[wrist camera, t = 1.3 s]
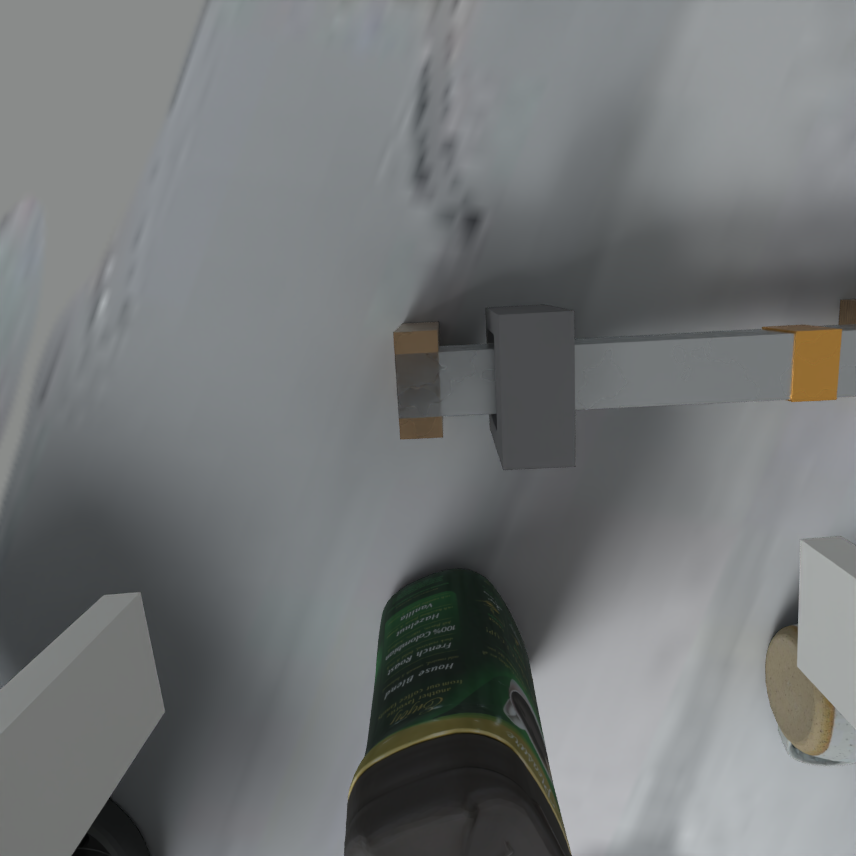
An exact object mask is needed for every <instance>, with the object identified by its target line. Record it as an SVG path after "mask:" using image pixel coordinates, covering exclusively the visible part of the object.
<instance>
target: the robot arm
mask: <svg viewBox="0 0 856 856" xmlns="http://www.w3.org/2000/svg"><path fill="white" fill-rule="evenodd" d="M797 667H798V668H799V669H800V670H801V671H802V672H803V673H804V674H805V676H806V677H807V678H808V679H809V680H810V681H811V682H812V683H813V684H814V685H815V686H816V687H817V688H818V690H819V691H820V692H821V693H822V694H823V695H824V696H825V697H826V698H827V699H828V700H829V701H830V702H831V704H832V705H833V706H834V707H835V708H836V709H837V710H838V711H839V712H840V713H841V714H842V715H843V717H844V718H845V719H846V720H847V721H848V722H849V723H850V724H851V725H852V726H853V727H854V728H855V729H856V545H854V544H853V543H851V542H849V541H848V540H846V539H845V538H843V537H841V536H835V537H822V538H810V539H800V574H799V611H798V648H797ZM164 713H165V708H164V704H163V699H162V694H161V689H160V684H159V679H158V674H157V670H156V665H155V660H154V655H153V650H152V645H151V641H150V636H149V631H148V626H147V621H146V616H145V611H144V607H143V602H142V597H141V592H135V593H123V594H110V595H103V596H102V597H101V598H100V599H99V600H98V601H97V602H96V603H94V604H93V605H92V606H91V607H90V608H89V609H88V610H87V611H86V612H85V613H84V614H82V615H81V616H80V617H79V618H78V619H77V620H76V621H75V622H74V623H73V624H71V625H70V626H69V627H68V628H67V629H66V630H65V631H64V632H63V633H62V634H61V635H59V636H58V637H57V638H56V639H55V640H54V641H53V642H52V643H51V644H50V645H48V646H47V647H46V648H45V649H44V650H43V651H42V652H41V653H40V654H39V655H38V656H36V657H35V658H34V659H33V660H32V661H31V662H30V663H29V664H28V665H27V666H26V667H24V668H23V669H22V670H21V671H20V672H19V673H18V674H17V675H16V676H15V677H13V678H12V679H11V680H10V681H9V682H8V683H7V684H6V685H5V686H4V687H3V688H1V689H0V856H149V852H148V849H147V847H146V844H145V842H144V840H143V838H142V836H141V834H140V833H139V831H138V830H137V828H136V827H135V825H134V824H133V822H132V821H131V820H130V819H129V818H128V816H127V815H126V814H125V813H124V812H123V811H122V810H121V809H120V808H119V807H118V806H117V805H115V804H114V803H113V802H112V801H110V800H109V797H110V796H111V794H112V793H113V791H114V790H115V788H116V787H117V785H118V783H119V782H120V780H121V779H122V777H123V776H124V774H125V773H126V771H127V770H128V768H129V767H130V765H131V763H132V762H133V760H134V759H135V757H136V756H137V754H138V753H139V751H140V750H141V748H142V747H143V745H144V744H145V742H146V740H147V739H148V737H149V736H150V734H151V733H152V731H153V730H154V728H155V727H156V725H157V724H158V722H159V720H160V719H161V717H162V716H163V714H164Z"/></svg>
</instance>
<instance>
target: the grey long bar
mask: <svg viewBox="0 0 856 856" xmlns="http://www.w3.org/2000/svg"><path fill="white" fill-rule="evenodd" d="M393 335H394V350H395V365H396V380H397V396H398V411H399V426H400V439H419V438H440V437H443V416H463V415H483V414H497V412H496V382H495V351H494V343H488V344H470V345H451V346H440V341H439V322H421V323H403V324H402V325H401V326H400V327H399V328H398V329H396V330H395V331H394V332H393ZM850 396H856V299H846V300H840V313H839V325H829V326H811V325H787V326H768V327H762V329H754V330H735V331H716V332H697V333H678V334H659V335H640V336H621V337H602V338H583V339H575V410H585V409H605V408H626V407H646V406H666V405H687V404H707V403H728V402H748V401H768V400H788V401H791V402H801V401H821V400H836V399H837V397H850Z"/></svg>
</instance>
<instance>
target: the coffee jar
mask: <svg viewBox="0 0 856 856" xmlns="http://www.w3.org/2000/svg"><path fill="white" fill-rule="evenodd" d="M344 856H572V855H571V851H570V847H569V843H568V840H567V836H566V832H565V828H564V824H563V820H562V817H561V813H560V809H559V805H558V801H557V797H556V793H555V789H554V785H553V780H552V776H551V771H550V767H549V762H548V756H547V752H546V747H545V742H544V737H543V732H542V727H541V722H540V717H539V712H538V706H537V702H536V696H535V690H534V685H533V679H532V674H531V669H530V664H529V660H528V656H527V653H526V650H525V646H524V643H523V641H522V638H521V635H520V633H519V631H518V628H517V626H516V624H515V622H514V620H513V618H512V616H511V614H510V612H509V610H508V608H507V606H506V604H505V603H504V601H503V600H502V598H501V596H500V595H499V594H498V592H497V591H496V589H495V588H494V587H493V585H492V584H491V583H490V582H489V581H488V580H487V579H486V578H485V577H483V576H482V575H480V574H478V573H476V572H473V571H470V570H465V569H450V570H445V571H441V572H438V573H434V574H432V575H430V576H427V577H424V578H422V579H419V580H417V581H415V582H413V583H411V584H409V585H408V586H406V587H404V588H403V589H401V590H400V591H398V592H397V593H396V594H394V595H393V596H392V597H391V599H390V600H389V601H388V602H387V604H386V606H385V608H384V610H383V614H382V619H381V625H380V632H379V640H378V650H377V662H376V675H375V685H374V694H373V701H372V709H371V718H370V726H369V734H368V742H367V748H366V753H365V757H364V759H363V760H362V762H361V763H360V765H359V766H358V769H357V771H356V773H355V775H354V777H353V780H352V783H351V786H350V790H349V795H348V804H347V820H346V836H345V848H344Z"/></svg>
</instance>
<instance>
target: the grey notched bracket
mask: <svg viewBox="0 0 856 856" xmlns="http://www.w3.org/2000/svg"><path fill="white" fill-rule="evenodd" d="M486 337H487V344H488V343H494V351H495V382H496V412H497V414H489V422H490V430H491V433H492V436H493V440H494V443H495V446H496V449H497V452H498V455H499V458H500V461H501V464H502V467H503V470H513V469H535V468H557V467H575V319H574V311H573V310H568V309H563V308H558V307H553V306H548V305H528V306H509V307H491V308H486Z"/></svg>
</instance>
